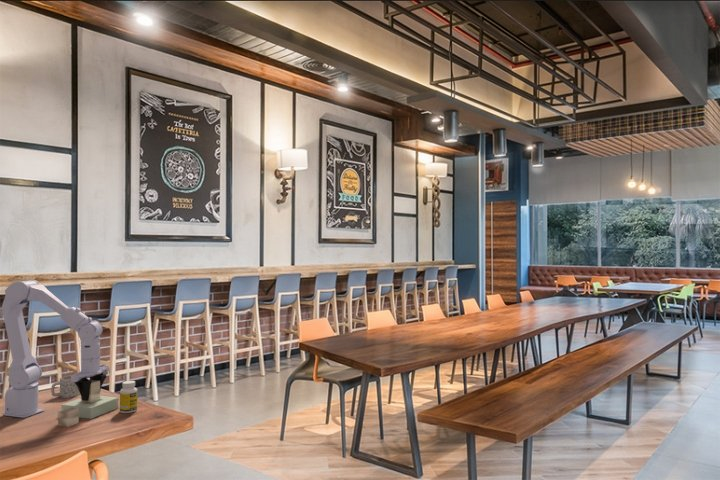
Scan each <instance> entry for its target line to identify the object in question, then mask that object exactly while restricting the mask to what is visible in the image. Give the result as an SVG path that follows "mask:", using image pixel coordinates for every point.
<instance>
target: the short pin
mask: <svg viewBox="0 0 720 480" xmlns="http://www.w3.org/2000/svg"><path fill="white" fill-rule="evenodd" d="M79 419H80V417H79V408H70V407H68V408H65V409H63V410H62V409H60V410H58V411H57V425H58V426H59V427H67V428H69V427H71V426H73V425H74V426H75V425H76V424H78V423H80V420H79Z"/></svg>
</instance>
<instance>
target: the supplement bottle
mask: <svg viewBox="0 0 720 480" xmlns="http://www.w3.org/2000/svg"><path fill="white" fill-rule="evenodd" d="M121 383H122V385H121V386H122V387H121V389H120V390H119V412H120V413H121V414H131V413H132V414H133V413H135V412H136V411H138V388H137V387H135V386H136V381H135V380H126V381H123V382H121Z"/></svg>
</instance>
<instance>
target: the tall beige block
mask: <svg viewBox="0 0 720 480" xmlns="http://www.w3.org/2000/svg"><path fill="white" fill-rule="evenodd" d="M100 396H101V390H100V381H97V380H92V382H91V385H90V390H89V399H88V401H84V400H82V398H81V397H80V398H81V403H84V404H93V403H95V402H98V401H100Z"/></svg>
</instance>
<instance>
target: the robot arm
mask: <svg viewBox="0 0 720 480" xmlns="http://www.w3.org/2000/svg"><path fill="white" fill-rule="evenodd" d="M4 292H5V293H4V294H5V295H4V298H3V302H2V305H1V312H2V317H3V321H4V325H5V331H6V335H7V339H8V344H9V349H10V354H11V357H12V358H11V359H12V361H11V363H10V366H9V368H8V369H9V375H8V381H7V382H8V384H9V386H10V387H9V388H8V389H6V391H5V395H4V413H2V414H1V415H2V416H6V417H14V418H22V419H24V418H28V417H30V416H33V415H37V414H40V413H43V412H44V411H45V409H44V408H39V380H40V379H41V377H42V375H43V370H42V368H41V366H40V364H38V361H37V360H38V359H37V358H36V357H35V356H33V355H32V351H31V347H30V341H29V336H28V332H27V328H26V324H25V323H26V322H25V319H24V312H23V309H24V308H25V307H26V306H27V305H28V303H29V302H30V301H31V302H32V301H33V302H40V303H42V304H44V306H47V307H48V308H49V309H50V310H53V311H54V312H56V313H57V314H58V315H60V320H61V322H63V323H64V324H65V325H66V326H68V327H70V328H71V329H72V330H74V332H77V335H78V338H80V344H81V345H80V371H79V372H77V373H75V374H72V376H71V375H70V376H71V382H74V383H75V384H76V386H77V387H78V389H79V392H80V395H79V396H80V398H82V400H84V401H88V399H89V390H90V385H91V382H92V380H97V381H100V391H101V389H102V386H103V384H104V381H105V380H106V379H107V374H106V373H109V372H110V366H106V365H103V366H101V335H102V333H103V331H104V330H103V325H102V324H101V322H100V321H99V320H95V319H94V320H93V318H92V317H88V315H86V314H84V313H83V312H82V309H81V308H80V307H75V306H68V305H66V304H65V303H64V302H63V301H62V300H61V299H59V298H58V297H57V296H55V294H53V293H52V292H51V291H49V290H48V289H47V287H46V286H45V285H43V284H42V283H40V282H39V281H38V280H35V279H28V280H22V281H21V280H17V281H16V280H15V281H13V282H12V283H10V284H9V286H8V287H6V288H5V289H4ZM88 378H89V379H88Z"/></svg>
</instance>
